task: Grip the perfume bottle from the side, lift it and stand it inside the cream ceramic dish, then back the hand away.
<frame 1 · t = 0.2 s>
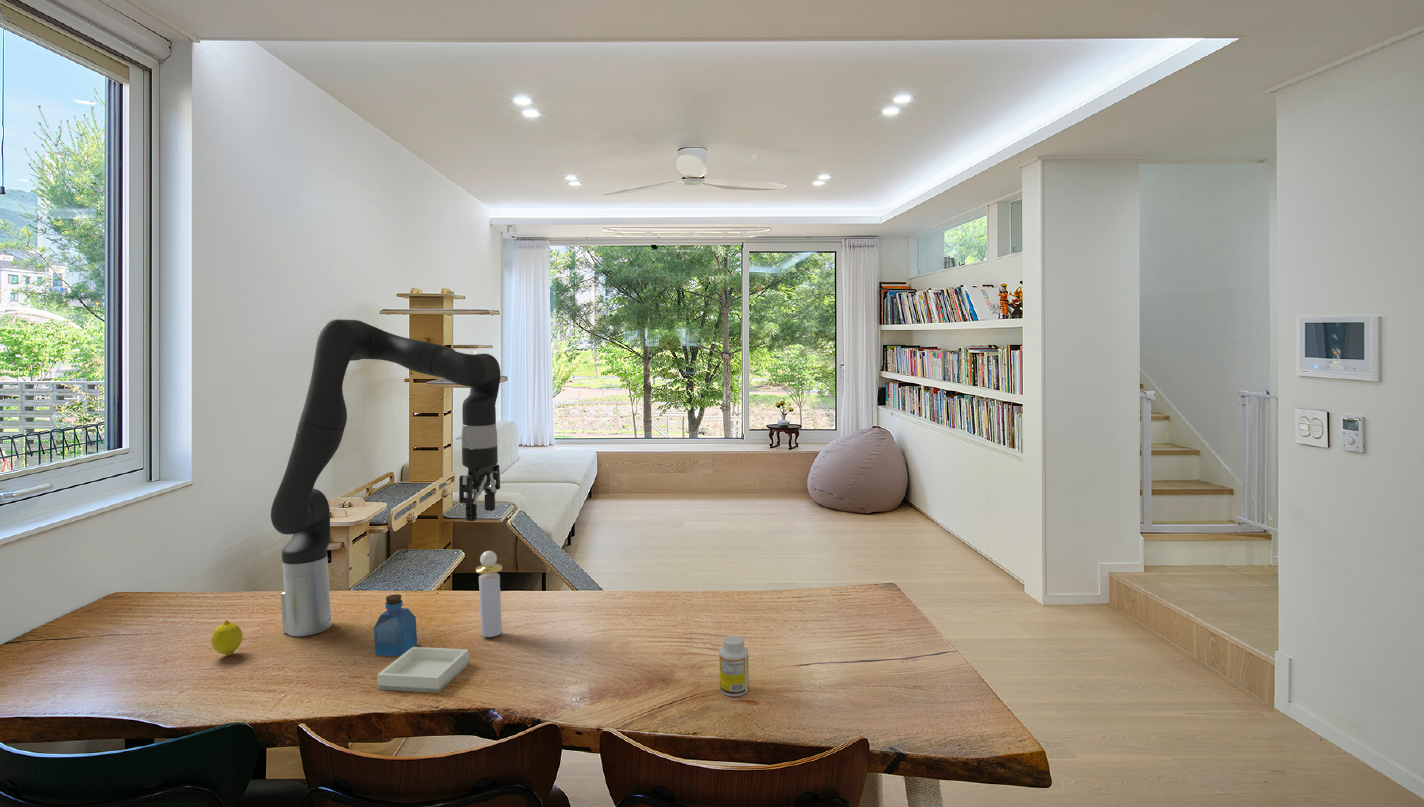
hand: (480, 515, 160), 29 cm above the table, tool pointing down, fingers open, 8 cm apart
dish: (425, 675, 145), on the table
perfume bottle: (396, 650, 157), on the table
perfume bottle 2: (491, 636, 164), on the table
supplement bottle: (734, 691, 137), on the table
fruit: (228, 656, 155), on the table
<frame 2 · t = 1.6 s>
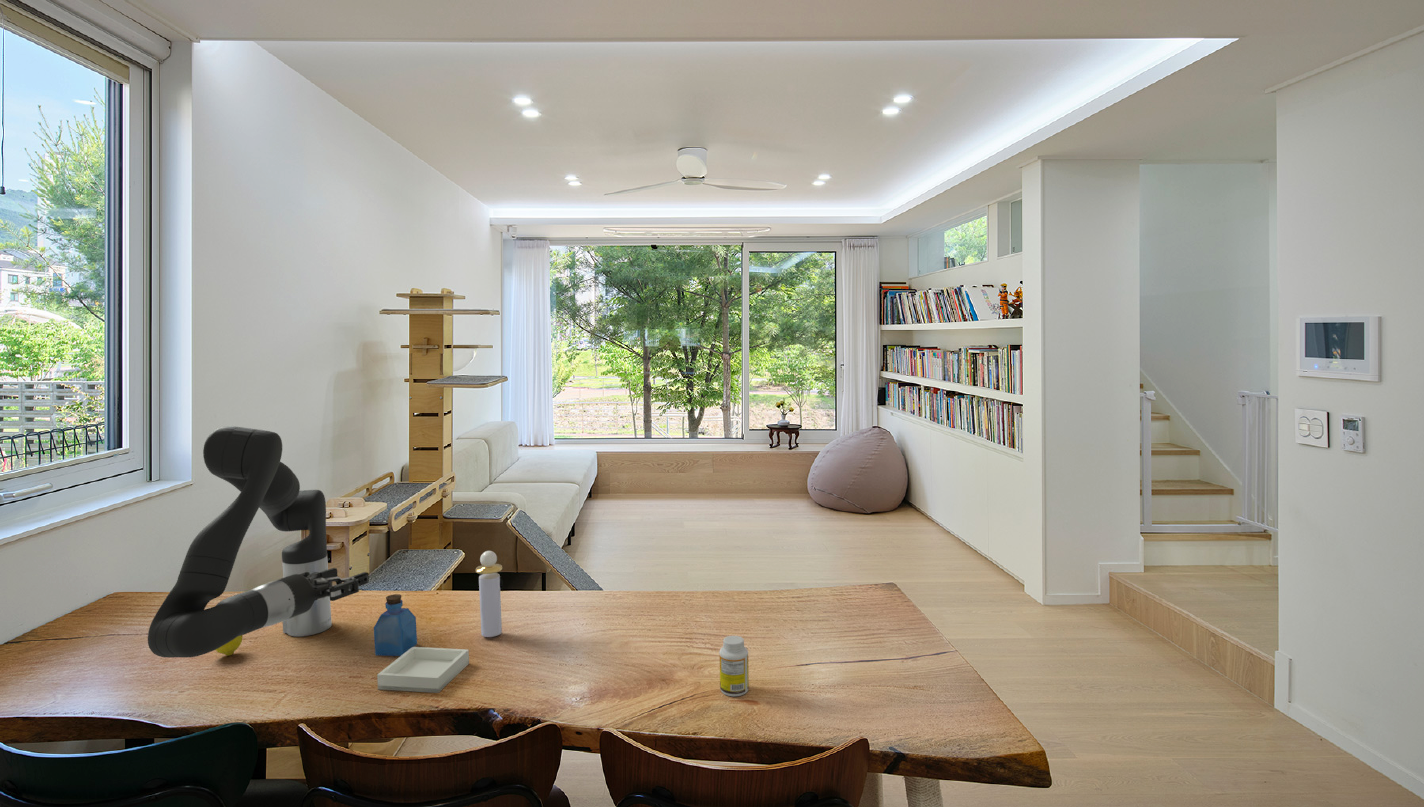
hand: (351, 574, 146), 20 cm above the table, tool horizontal, fingers open, 8 cm apart
nothing on the table moved.
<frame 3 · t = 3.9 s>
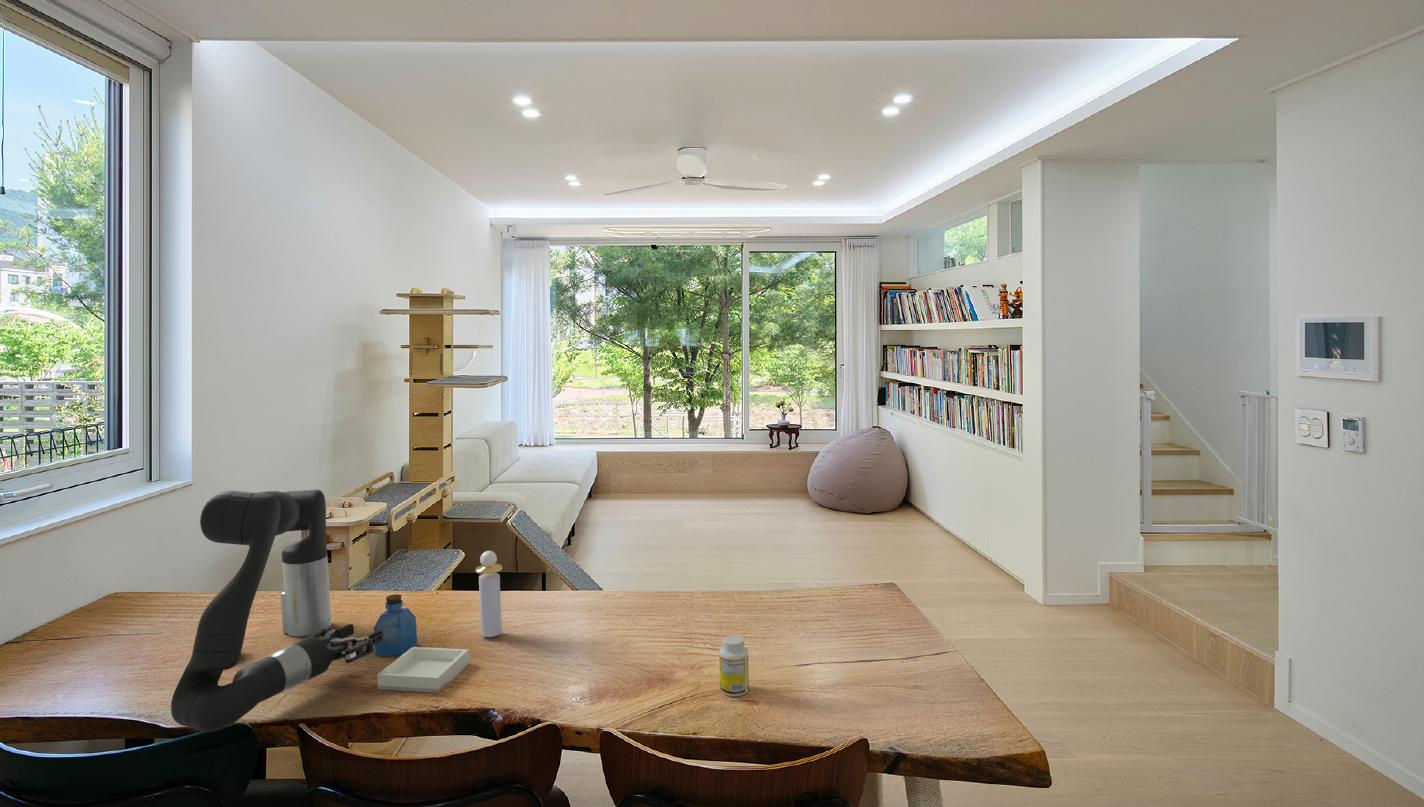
hand: (367, 631, 150), 7 cm above the table, tool horizontal, fingers open, 8 cm apart
nothing on the table moved.
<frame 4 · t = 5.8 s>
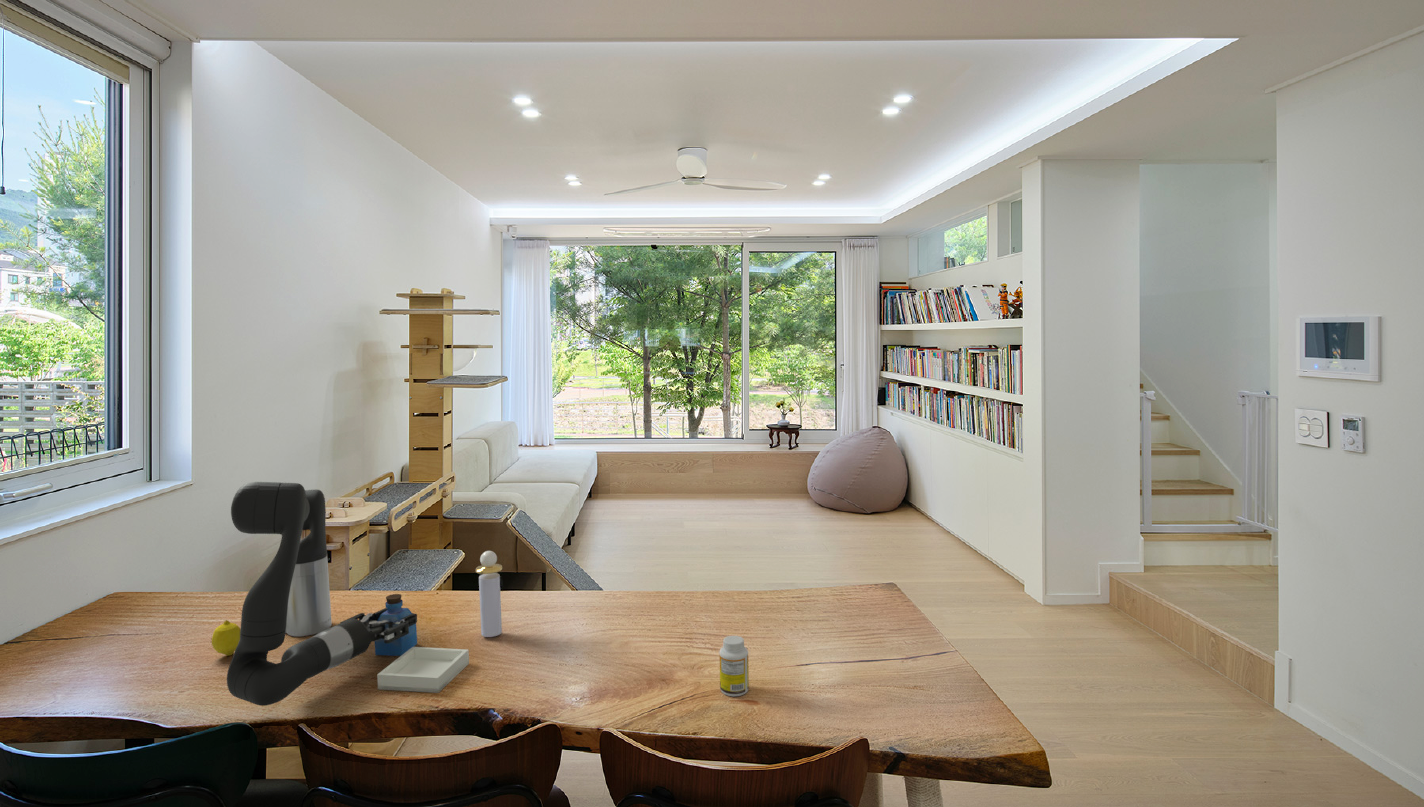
hand: (401, 615, 158), 7 cm above the table, tool horizontal, fingers closed on perfume bottle, 7 cm apart
perfume bottle: (396, 650, 157), on the table, touching gripper
everything else where it was.
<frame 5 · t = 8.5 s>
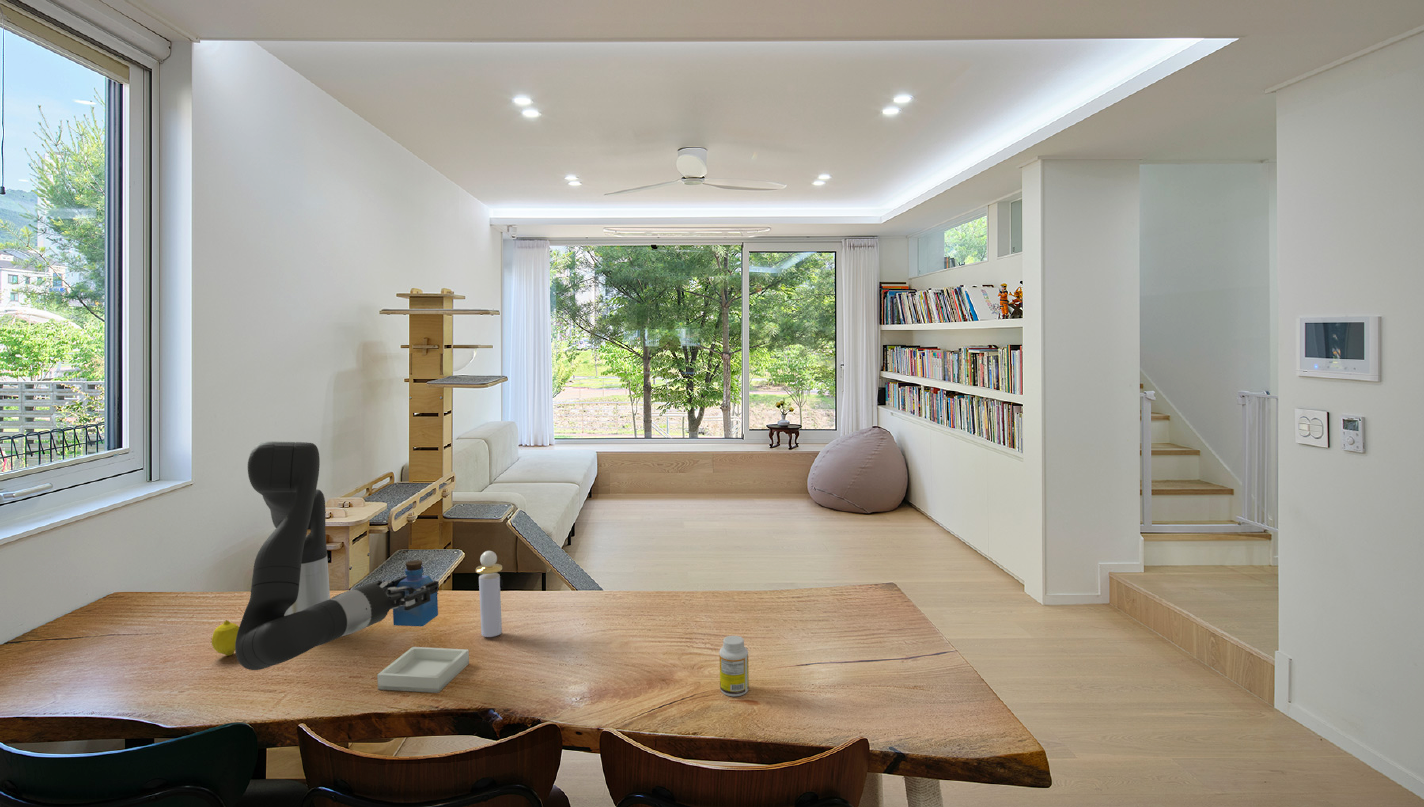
hand: (422, 583, 147), 18 cm above the table, tool horizontal, fingers closed on perfume bottle, 7 cm apart
perfume bottle: (416, 621, 146), point 11 cm above the table, touching gripper
everything else where it was.
when the fingers open (9 cm above the table, at t = 11.1 s): perfume bottle drops 1 cm, resting on dish.
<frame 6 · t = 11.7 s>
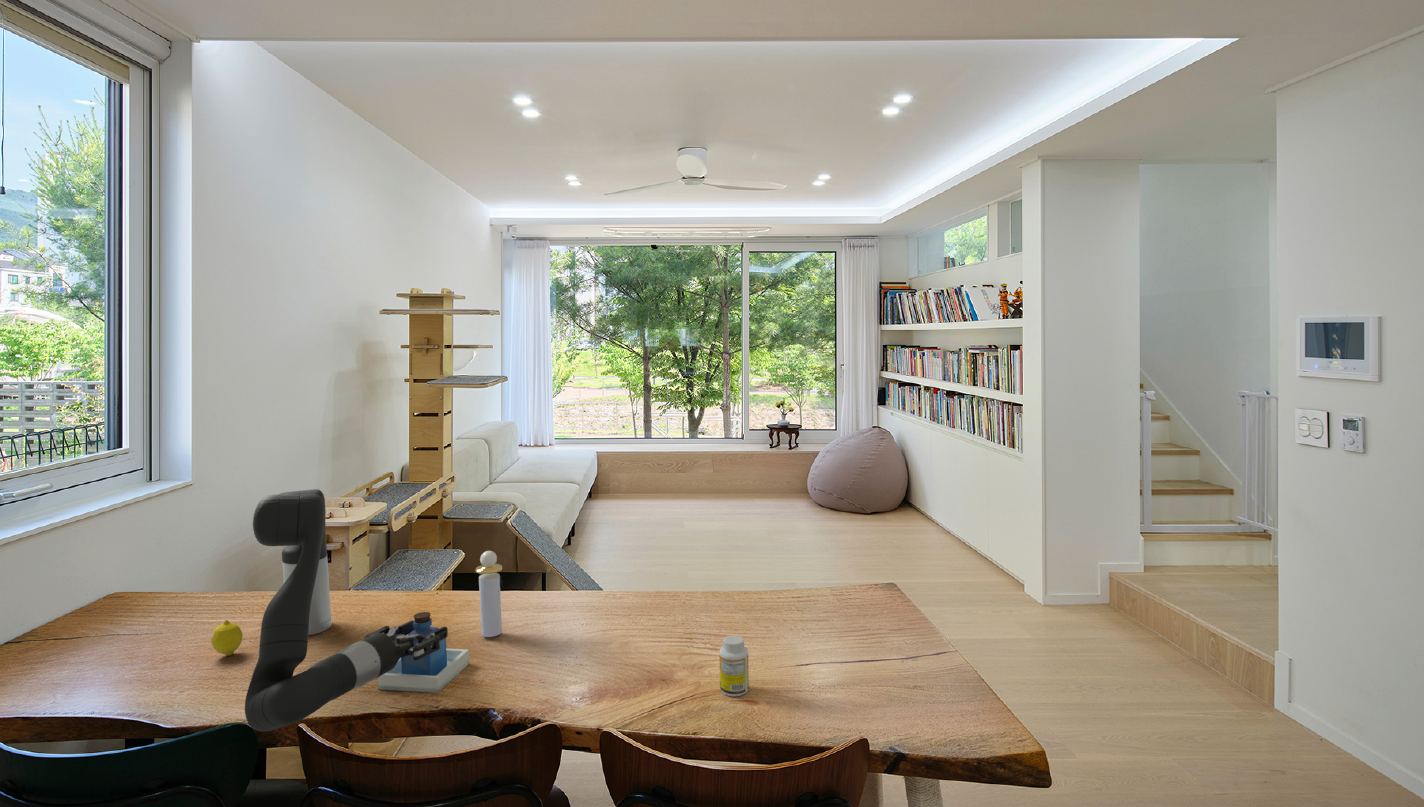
hand: (430, 628, 146), 9 cm above the table, tool horizontal, fingers open, 8 cm apart
perfume bottle: (425, 673, 145), point 1 cm above the table, touching dish
everything else where it was.
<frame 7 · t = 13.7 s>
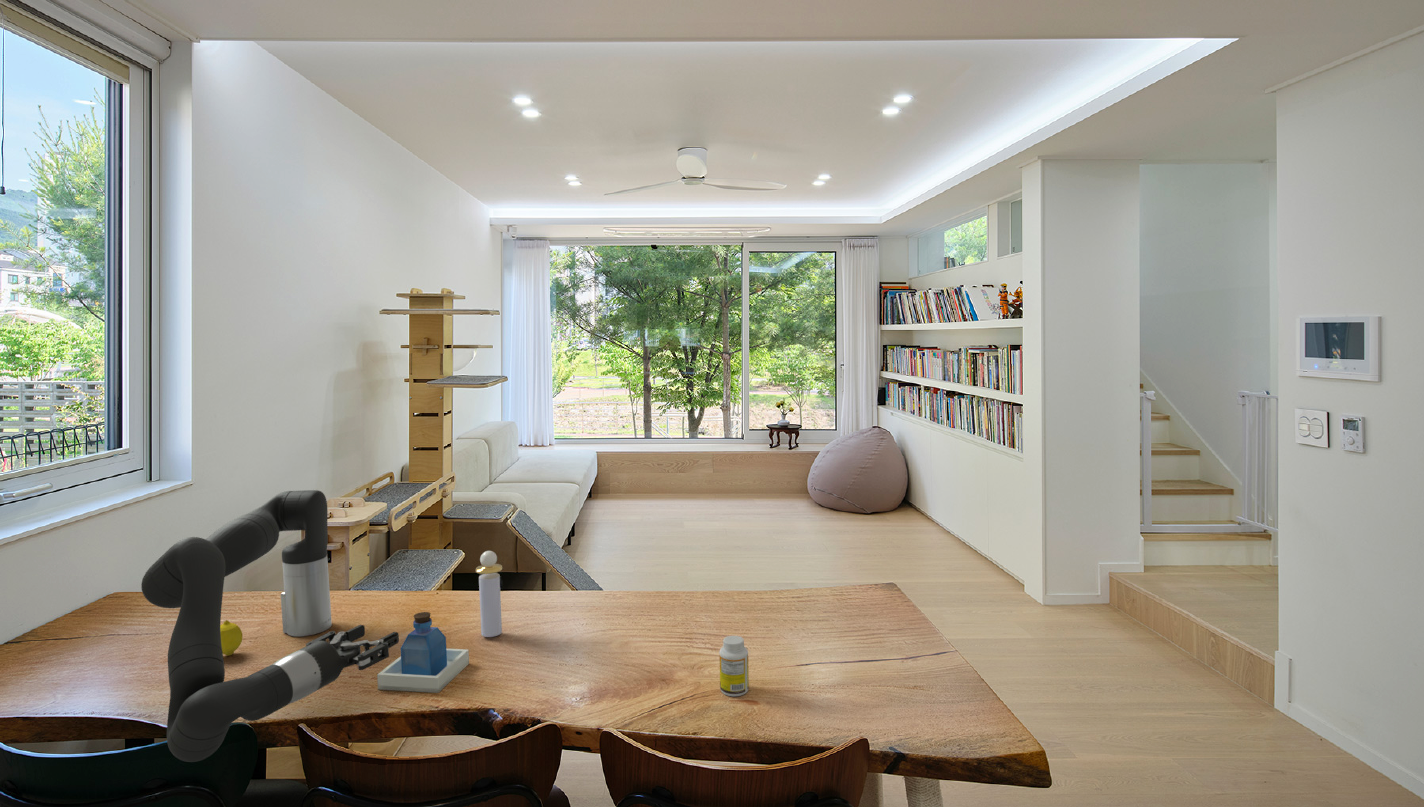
hand: (380, 633, 135), 13 cm above the table, tool horizontal, fingers open, 8 cm apart
nothing on the table moved.
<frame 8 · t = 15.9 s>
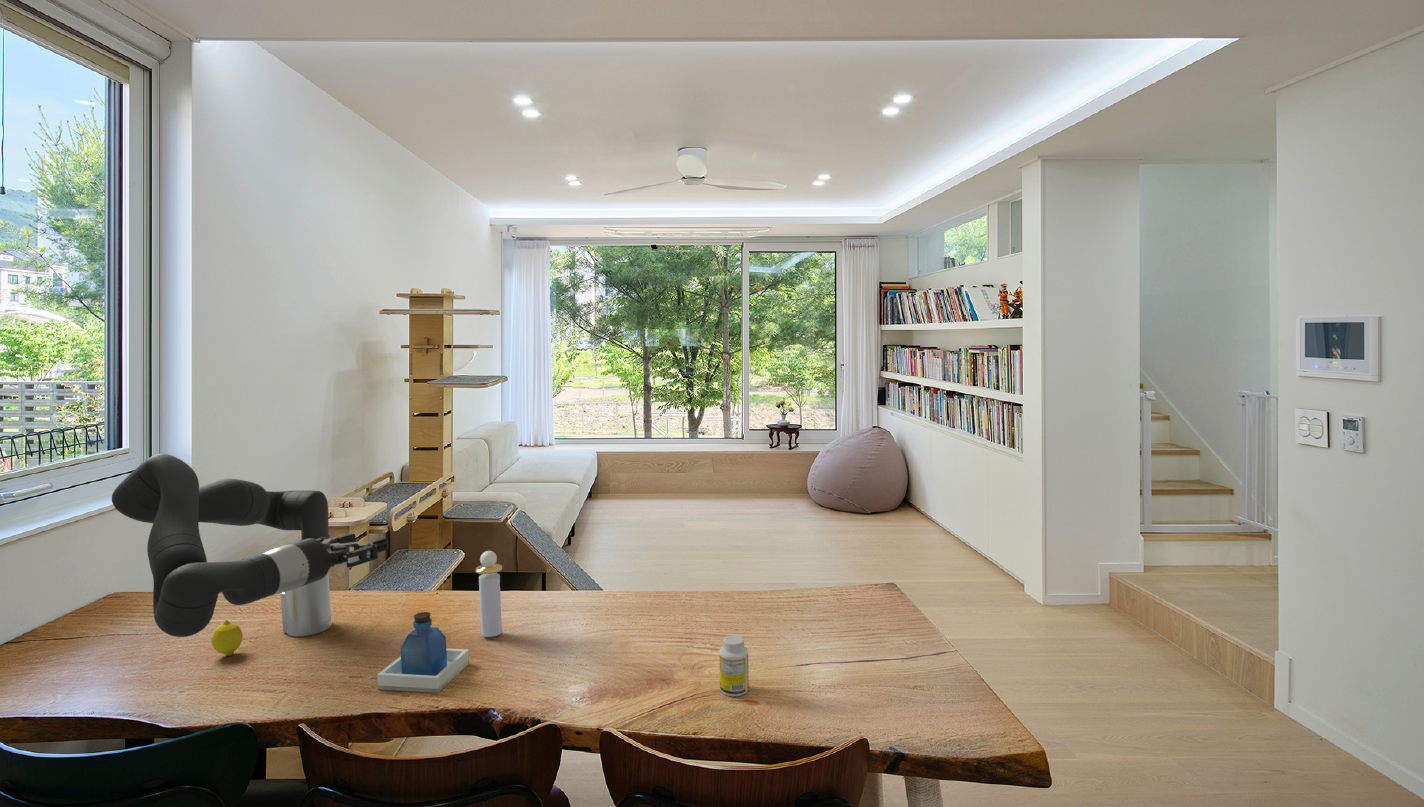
hand: (370, 540, 136), 30 cm above the table, tool horizontal, fingers open, 8 cm apart
nothing on the table moved.
at the end: perfume bottle inside the target area on the dish (0.0 cm from its centre), point 0.6 cm above the dish's base; perfume bottle tilted 0°; the gripper is holding nothing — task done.
